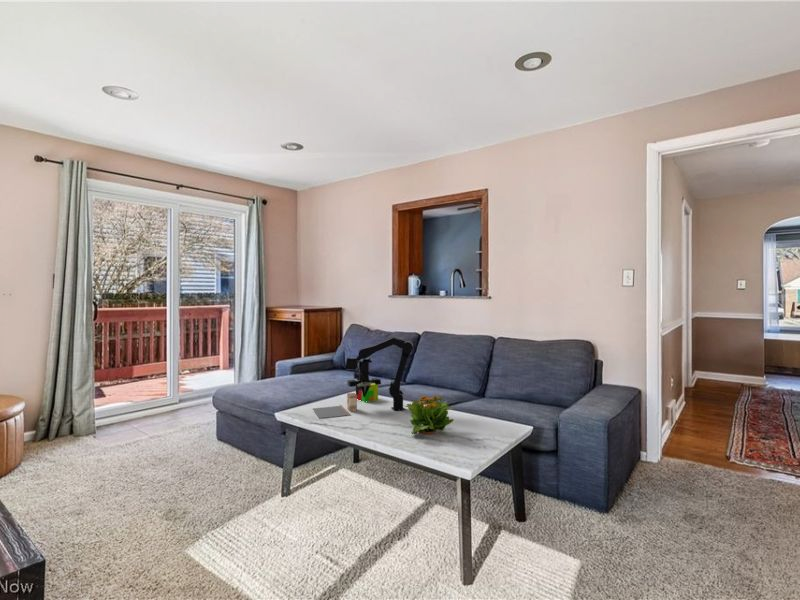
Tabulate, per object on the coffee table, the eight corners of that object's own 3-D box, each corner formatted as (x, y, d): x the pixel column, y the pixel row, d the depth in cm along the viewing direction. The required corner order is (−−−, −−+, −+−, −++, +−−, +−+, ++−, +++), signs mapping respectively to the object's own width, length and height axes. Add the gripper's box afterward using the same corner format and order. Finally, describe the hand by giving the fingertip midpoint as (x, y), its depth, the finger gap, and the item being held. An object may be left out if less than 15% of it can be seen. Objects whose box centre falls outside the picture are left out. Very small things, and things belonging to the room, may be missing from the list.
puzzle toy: (368, 396, 269) (368, 381, 269) (378, 399, 261) (378, 383, 261) (355, 399, 263) (355, 383, 262) (364, 402, 255) (364, 386, 255)
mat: (350, 415, 227) (350, 414, 227) (319, 418, 221) (319, 417, 221) (341, 406, 246) (341, 405, 246) (312, 409, 239) (312, 408, 239)
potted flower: (394, 426, 208) (394, 391, 207) (436, 420, 217) (436, 387, 217) (417, 442, 185) (417, 403, 185) (462, 435, 195) (462, 397, 194)
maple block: (356, 411, 236) (356, 395, 236) (349, 411, 234) (349, 395, 234) (354, 408, 241) (353, 392, 241) (347, 409, 240) (347, 393, 240)
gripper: (375, 366, 251) (375, 392, 251) (344, 368, 244) (344, 395, 244) (381, 370, 241) (381, 397, 241) (349, 372, 234) (349, 399, 234)
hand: (364, 397), depth 240 cm, fingers closed
